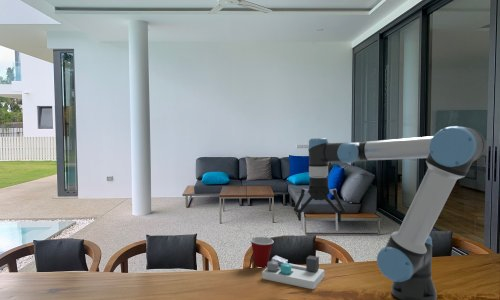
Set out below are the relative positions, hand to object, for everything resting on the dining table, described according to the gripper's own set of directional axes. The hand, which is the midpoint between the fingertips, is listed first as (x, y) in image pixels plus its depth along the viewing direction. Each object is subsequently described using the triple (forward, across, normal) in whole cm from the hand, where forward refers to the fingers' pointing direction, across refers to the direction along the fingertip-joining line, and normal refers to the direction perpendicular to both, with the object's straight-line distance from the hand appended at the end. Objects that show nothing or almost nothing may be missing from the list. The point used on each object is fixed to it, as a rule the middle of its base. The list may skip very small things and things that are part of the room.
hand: (319, 229), depth 142 cm
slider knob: (+18, +4, -4) cm, 18 cm away
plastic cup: (+21, +27, -12) cm, 36 cm away
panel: (+21, +11, -2) cm, 24 cm away
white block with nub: (+17, +18, -7) cm, 25 cm away
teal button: (+18, +14, +1) cm, 23 cm away
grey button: (+18, +20, 0) cm, 26 cm away
